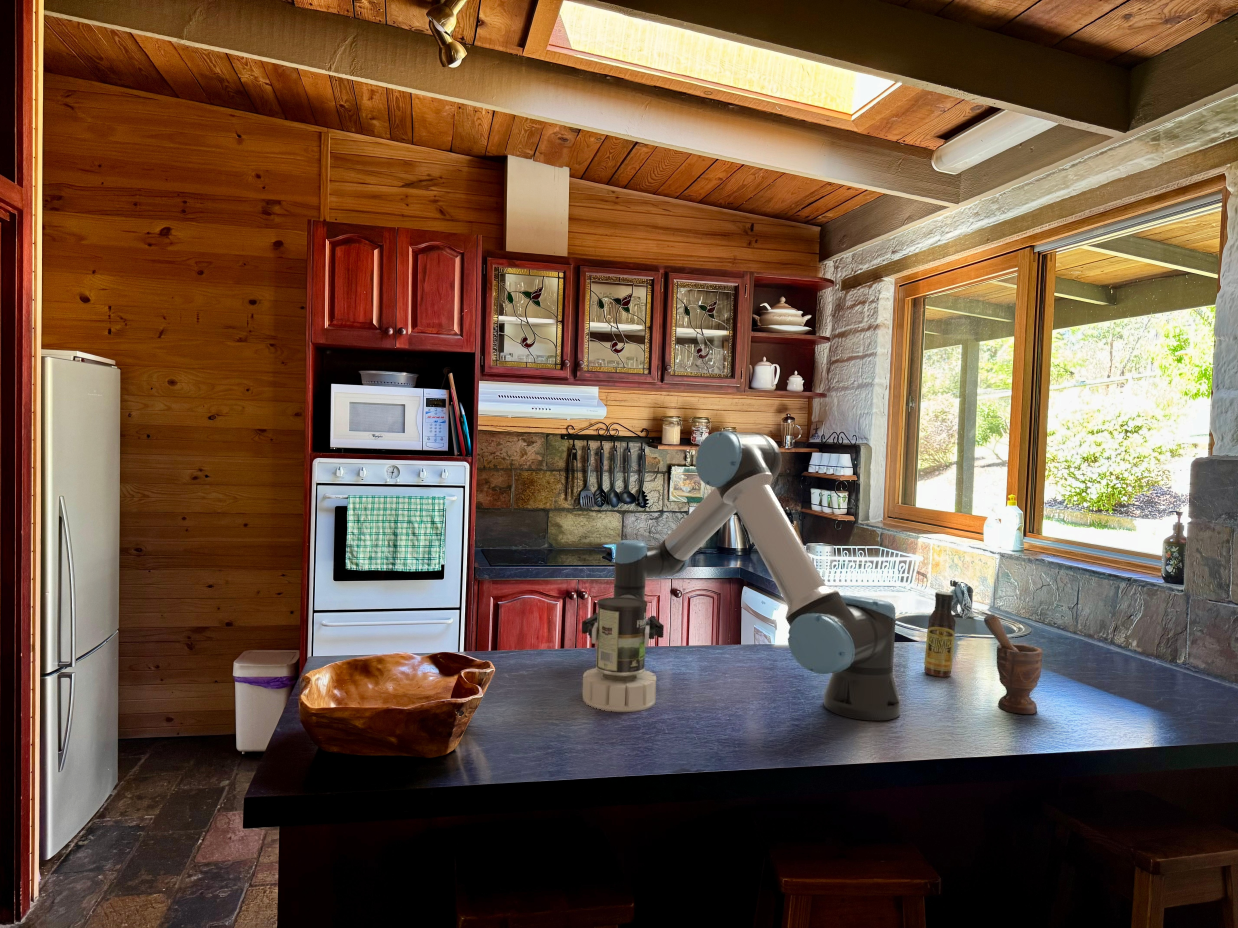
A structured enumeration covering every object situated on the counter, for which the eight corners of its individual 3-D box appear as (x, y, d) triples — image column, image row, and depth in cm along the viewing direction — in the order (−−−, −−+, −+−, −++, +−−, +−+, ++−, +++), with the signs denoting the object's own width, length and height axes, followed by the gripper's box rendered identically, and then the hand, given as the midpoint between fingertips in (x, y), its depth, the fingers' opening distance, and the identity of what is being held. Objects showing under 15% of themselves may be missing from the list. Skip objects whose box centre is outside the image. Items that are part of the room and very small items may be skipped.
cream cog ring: (656, 690, 176) (656, 667, 176) (654, 713, 161) (655, 688, 161) (586, 687, 177) (587, 664, 177) (578, 709, 162) (579, 684, 162)
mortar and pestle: (1006, 719, 166) (1011, 621, 165) (973, 705, 174) (978, 612, 173) (1048, 713, 170) (1053, 618, 170) (1014, 701, 178) (1019, 609, 178)
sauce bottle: (923, 675, 196) (927, 593, 195) (924, 669, 202) (928, 589, 201) (953, 679, 193) (957, 595, 193) (952, 672, 199) (956, 591, 199)
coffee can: (648, 664, 173) (651, 598, 173) (640, 678, 163) (642, 608, 163) (601, 660, 175) (603, 594, 175) (589, 673, 165) (592, 604, 165)
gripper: (675, 633, 186) (675, 659, 164) (576, 628, 188) (563, 653, 166) (676, 600, 186) (676, 622, 164) (577, 595, 188) (565, 616, 165)
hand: (620, 637), depth 165 cm, fingers closed on coffee can, 10 cm apart
